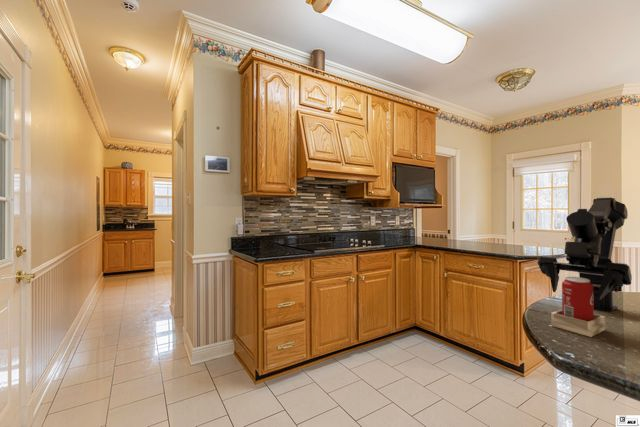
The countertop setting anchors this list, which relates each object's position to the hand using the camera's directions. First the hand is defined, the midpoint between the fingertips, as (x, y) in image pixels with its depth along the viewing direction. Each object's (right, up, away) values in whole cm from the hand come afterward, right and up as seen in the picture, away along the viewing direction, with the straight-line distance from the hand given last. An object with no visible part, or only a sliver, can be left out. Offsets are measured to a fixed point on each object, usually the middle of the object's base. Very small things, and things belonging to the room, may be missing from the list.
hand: (575, 294), depth 77 cm
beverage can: (+2, -8, +1) cm, 8 cm away
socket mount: (+1, -9, +1) cm, 9 cm away
